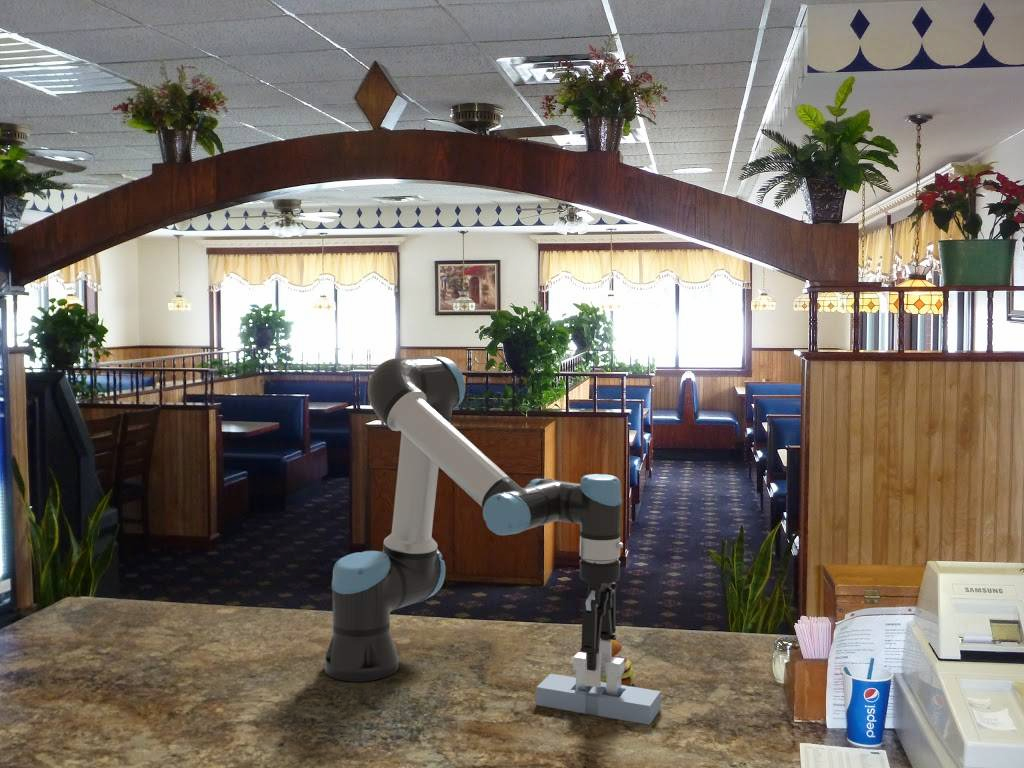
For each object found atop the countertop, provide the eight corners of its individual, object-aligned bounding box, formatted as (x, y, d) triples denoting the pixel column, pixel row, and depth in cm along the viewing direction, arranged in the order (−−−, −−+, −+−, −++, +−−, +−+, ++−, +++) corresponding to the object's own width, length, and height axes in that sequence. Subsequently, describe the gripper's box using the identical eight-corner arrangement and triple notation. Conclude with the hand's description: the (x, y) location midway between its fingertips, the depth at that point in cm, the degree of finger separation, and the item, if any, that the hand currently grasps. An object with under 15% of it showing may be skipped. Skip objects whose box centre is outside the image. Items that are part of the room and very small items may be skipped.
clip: (572, 706, 190) (573, 657, 189) (578, 700, 193) (578, 652, 192) (618, 714, 187) (619, 664, 186) (623, 708, 189) (624, 658, 188)
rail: (536, 704, 191) (536, 686, 190) (550, 690, 197) (550, 673, 197) (649, 724, 182) (649, 706, 182) (660, 709, 189) (660, 691, 189)
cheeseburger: (634, 694, 196) (623, 644, 195) (581, 702, 198) (569, 653, 198) (638, 674, 206) (627, 627, 205) (587, 682, 208) (576, 636, 208)
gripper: (603, 573, 177) (601, 701, 179) (633, 549, 194) (632, 666, 196) (563, 568, 180) (562, 694, 182) (596, 545, 197) (595, 660, 199)
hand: (598, 679), depth 189 cm, fingers open, 6 cm apart
